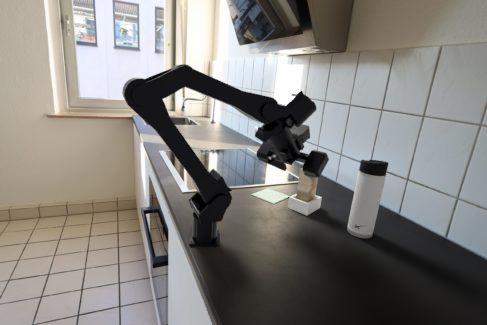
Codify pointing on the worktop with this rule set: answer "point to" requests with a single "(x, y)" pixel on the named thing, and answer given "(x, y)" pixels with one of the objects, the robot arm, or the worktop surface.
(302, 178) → the tall tan tower
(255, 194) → the mat
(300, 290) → the worktop surface
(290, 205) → the holder box
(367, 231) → the travel mug
